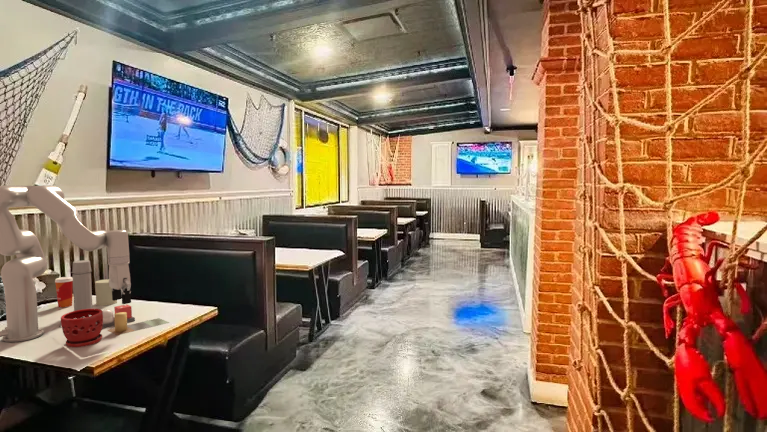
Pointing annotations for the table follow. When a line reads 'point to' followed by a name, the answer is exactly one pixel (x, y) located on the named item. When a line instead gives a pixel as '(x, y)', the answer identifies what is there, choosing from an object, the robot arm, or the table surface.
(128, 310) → the popper base
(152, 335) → the table surface
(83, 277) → the water bottle
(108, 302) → the can
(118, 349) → the table surface
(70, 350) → the table surface
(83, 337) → the plant pot
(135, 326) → the game board
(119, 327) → the tan cylinder
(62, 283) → the paper cup
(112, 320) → the dome
